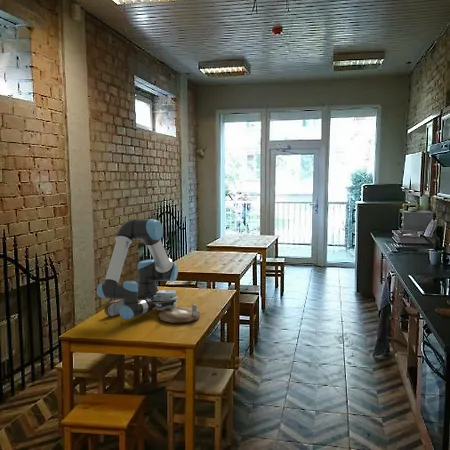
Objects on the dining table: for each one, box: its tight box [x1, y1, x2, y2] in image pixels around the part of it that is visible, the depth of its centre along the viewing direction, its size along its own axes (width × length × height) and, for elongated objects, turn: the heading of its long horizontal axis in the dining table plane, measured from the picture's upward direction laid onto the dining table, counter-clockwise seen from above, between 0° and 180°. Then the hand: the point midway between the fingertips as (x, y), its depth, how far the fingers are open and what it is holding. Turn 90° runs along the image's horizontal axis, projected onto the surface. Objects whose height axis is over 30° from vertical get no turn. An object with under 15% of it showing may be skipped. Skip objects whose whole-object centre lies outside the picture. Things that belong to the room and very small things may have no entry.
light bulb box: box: [156, 289, 178, 311], centre depth 266 cm, size 11×7×11 cm, turn 84°
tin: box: [104, 299, 124, 318], centre depth 256 cm, size 15×3×8 cm, turn 141°
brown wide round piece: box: [158, 303, 201, 324], centre depth 249 cm, size 22×22×8 cm
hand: (169, 297), depth 268 cm, fingers closed on light bulb box, 12 cm apart
